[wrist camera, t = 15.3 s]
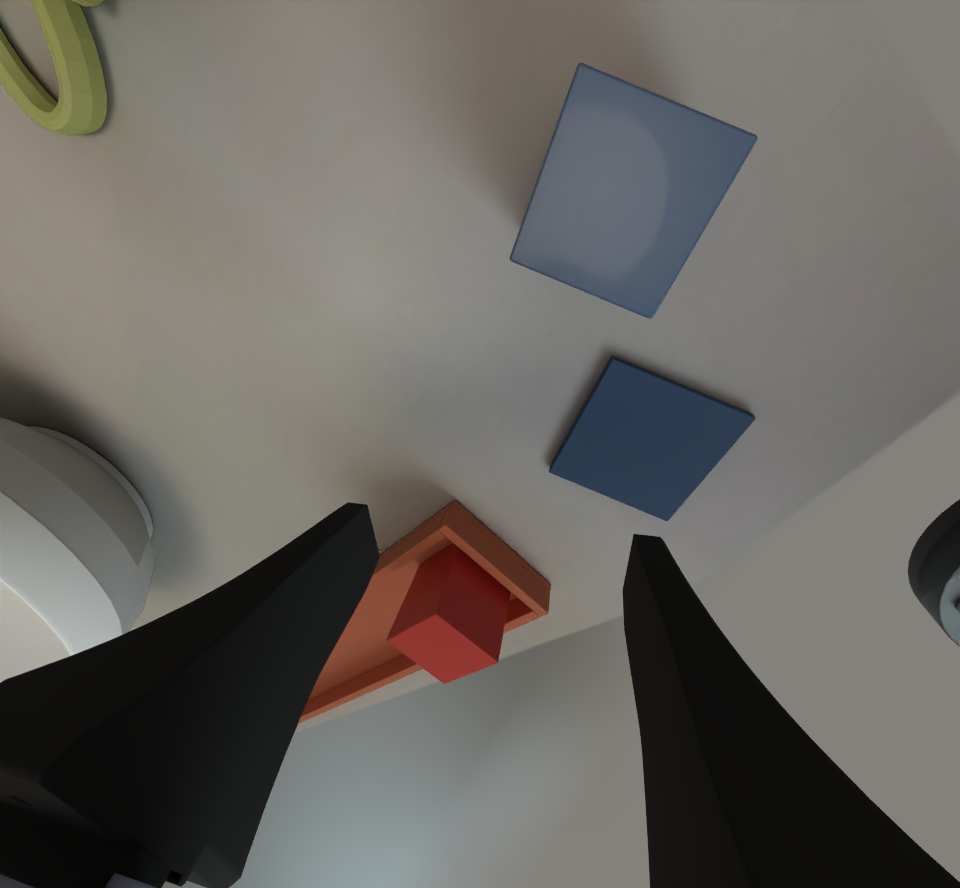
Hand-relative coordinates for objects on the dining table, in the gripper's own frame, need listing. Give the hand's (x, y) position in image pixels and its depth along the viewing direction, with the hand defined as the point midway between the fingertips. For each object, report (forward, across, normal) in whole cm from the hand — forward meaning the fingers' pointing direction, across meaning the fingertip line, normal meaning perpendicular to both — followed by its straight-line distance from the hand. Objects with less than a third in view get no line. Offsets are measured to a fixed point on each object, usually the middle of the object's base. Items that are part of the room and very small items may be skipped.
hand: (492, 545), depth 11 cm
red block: (+8, +3, +10) cm, 13 cm away
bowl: (+9, +31, +8) cm, 34 cm away
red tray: (+8, +16, +22) cm, 29 cm away
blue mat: (+8, -5, +1) cm, 10 cm away
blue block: (+8, -3, -8) cm, 12 cm away
